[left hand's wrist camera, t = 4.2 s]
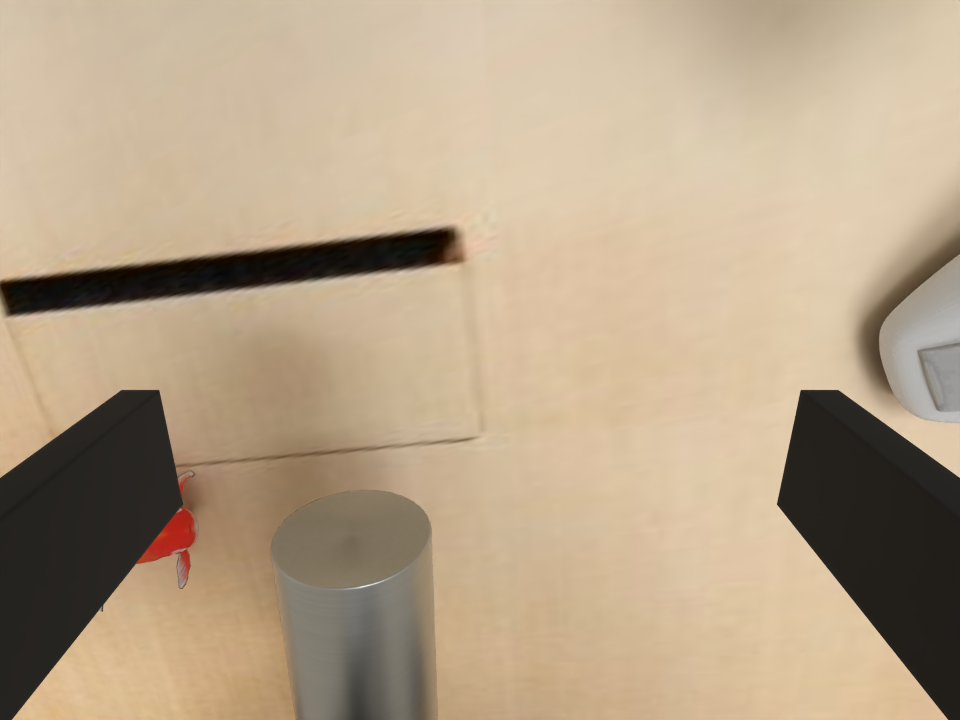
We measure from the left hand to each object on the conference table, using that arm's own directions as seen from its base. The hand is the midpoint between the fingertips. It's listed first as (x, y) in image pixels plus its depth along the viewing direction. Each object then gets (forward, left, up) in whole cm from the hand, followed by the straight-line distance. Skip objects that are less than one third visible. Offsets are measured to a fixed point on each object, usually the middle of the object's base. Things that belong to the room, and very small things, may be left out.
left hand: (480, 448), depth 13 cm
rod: (+26, +7, -19) cm, 33 cm away
